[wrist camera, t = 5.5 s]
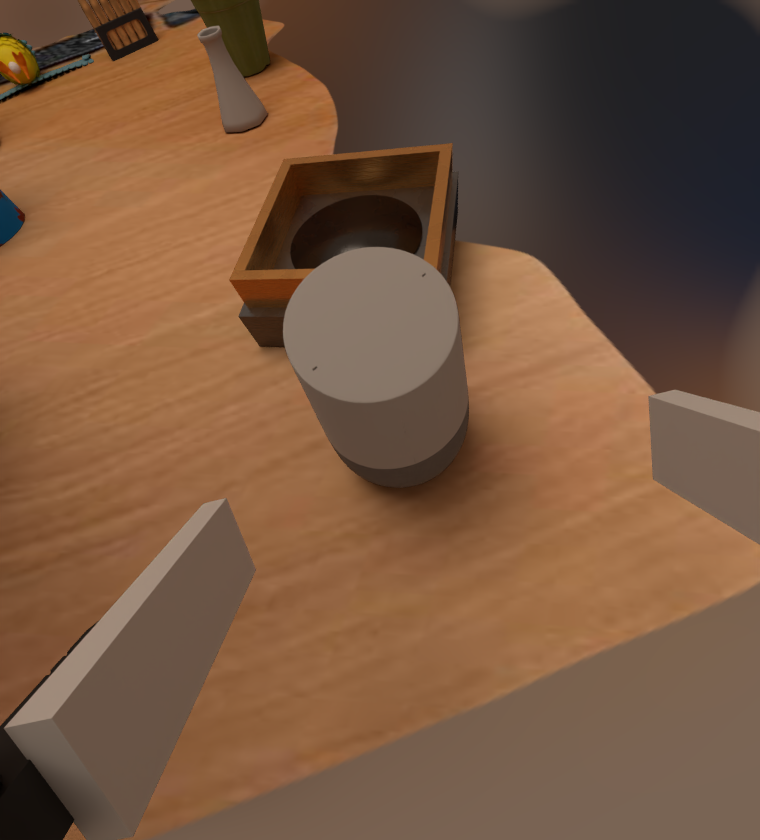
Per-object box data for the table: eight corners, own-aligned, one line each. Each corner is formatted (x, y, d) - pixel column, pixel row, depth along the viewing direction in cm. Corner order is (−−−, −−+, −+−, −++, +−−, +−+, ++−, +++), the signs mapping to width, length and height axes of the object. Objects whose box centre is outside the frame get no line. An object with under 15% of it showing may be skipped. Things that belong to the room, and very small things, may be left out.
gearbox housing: (443, 350, 31) (441, 286, 25) (259, 346, 35) (219, 289, 29) (457, 211, 39) (459, 136, 33) (306, 219, 43) (281, 153, 37)
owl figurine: (-80, 72, 70) (-73, 53, 77) (-28, 126, 77) (-26, 104, 85) (62, 11, 73) (55, -1, 80) (99, 68, 80) (89, 52, 88)
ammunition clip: (156, 38, 82) (113, -47, 72) (158, 40, 81) (115, -46, 71) (111, 59, 81) (60, -24, 70) (113, 61, 80) (62, -23, 69)
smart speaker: (402, 526, 25) (358, 443, 13) (319, 442, 29) (224, 319, 17) (493, 431, 27) (527, 283, 15) (403, 365, 31) (373, 206, 19)
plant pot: (243, 91, 62) (204, -9, 52) (208, 77, 67) (166, -15, 57) (297, 57, 64) (270, -44, 55) (259, 47, 70) (227, -47, 60)
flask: (266, 128, 55) (230, 35, 46) (219, 138, 56) (176, 49, 47) (270, 104, 58) (239, 13, 49) (227, 114, 59) (188, 27, 50)
